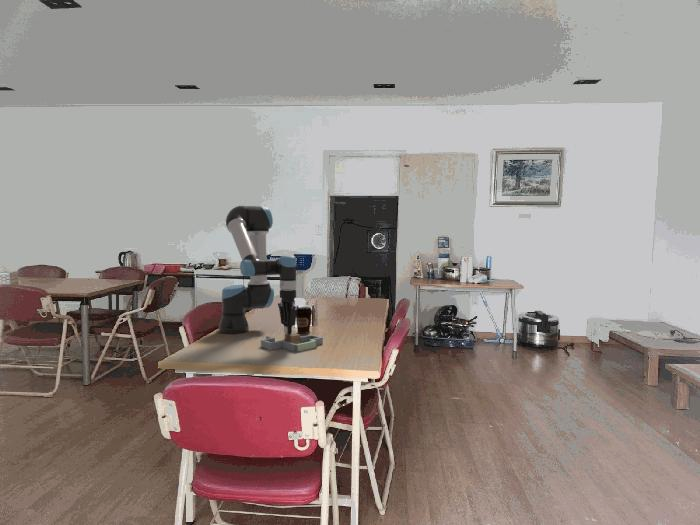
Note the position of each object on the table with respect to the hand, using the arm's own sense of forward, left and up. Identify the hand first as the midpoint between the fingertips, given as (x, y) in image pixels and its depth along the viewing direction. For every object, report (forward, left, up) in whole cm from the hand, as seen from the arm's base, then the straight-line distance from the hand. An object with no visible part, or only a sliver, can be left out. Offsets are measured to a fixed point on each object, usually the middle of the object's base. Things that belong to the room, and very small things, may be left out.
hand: (288, 339), depth 221 cm
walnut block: (+3, 0, -2) cm, 4 cm away
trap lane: (+2, 0, -2) cm, 2 cm away
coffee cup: (-13, +20, -2) cm, 24 cm away
